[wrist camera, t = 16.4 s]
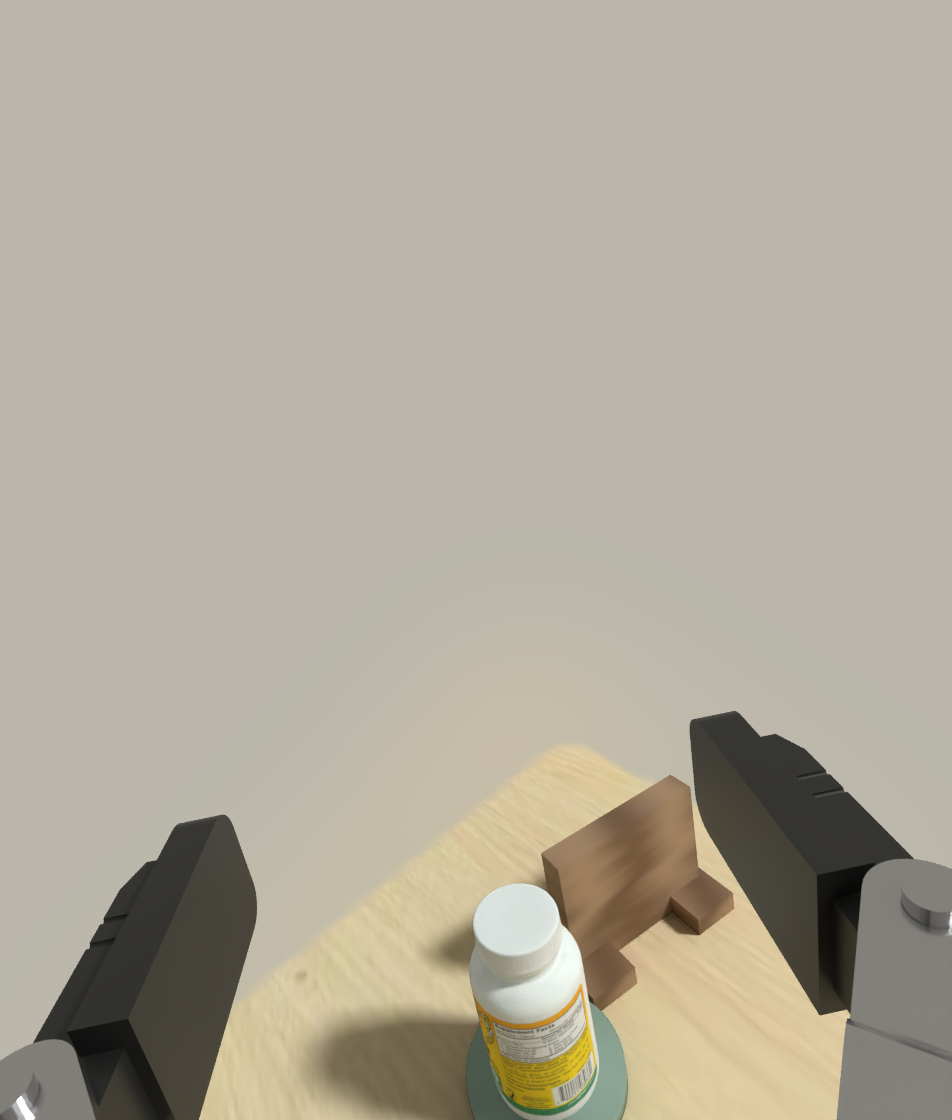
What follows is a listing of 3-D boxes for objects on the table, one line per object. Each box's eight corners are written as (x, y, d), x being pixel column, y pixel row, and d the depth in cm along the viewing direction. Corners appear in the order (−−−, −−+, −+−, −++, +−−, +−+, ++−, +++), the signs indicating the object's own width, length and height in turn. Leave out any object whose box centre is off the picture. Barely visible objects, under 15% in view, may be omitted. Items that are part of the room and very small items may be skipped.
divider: (595, 1014, 35) (575, 900, 33) (533, 940, 40) (512, 836, 38) (734, 908, 40) (725, 801, 38) (662, 853, 45) (650, 756, 43)
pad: (438, 1112, 32) (433, 1098, 32) (521, 978, 38) (518, 966, 38) (583, 1215, 27) (580, 1199, 27) (652, 1043, 33) (650, 1029, 33)
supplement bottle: (596, 1136, 29) (567, 976, 26) (482, 1118, 31) (442, 966, 28) (603, 1018, 34) (578, 873, 31) (504, 1008, 36) (472, 869, 33)
